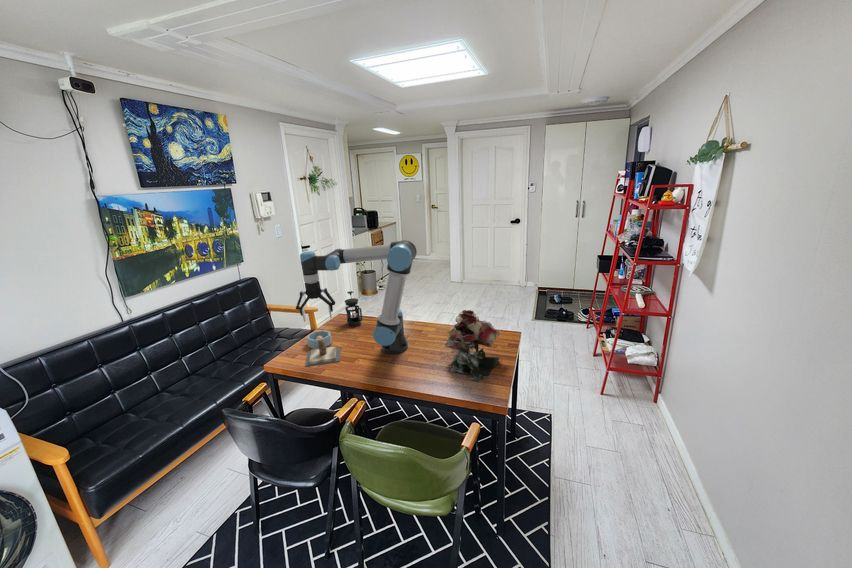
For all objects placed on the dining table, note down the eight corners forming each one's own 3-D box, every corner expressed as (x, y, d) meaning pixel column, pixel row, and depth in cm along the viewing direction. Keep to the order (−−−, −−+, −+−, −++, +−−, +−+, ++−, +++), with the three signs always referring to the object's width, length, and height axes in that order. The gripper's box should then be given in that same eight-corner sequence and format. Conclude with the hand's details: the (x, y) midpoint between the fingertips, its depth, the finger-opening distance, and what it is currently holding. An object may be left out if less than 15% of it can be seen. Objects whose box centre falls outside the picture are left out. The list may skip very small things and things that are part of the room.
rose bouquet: (503, 356, 189) (503, 303, 180) (483, 384, 165) (483, 325, 156) (459, 346, 201) (457, 297, 192) (434, 372, 177) (432, 316, 168)
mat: (340, 348, 207) (340, 347, 207) (339, 361, 192) (339, 360, 192) (308, 352, 204) (308, 351, 204) (305, 366, 189) (305, 365, 189)
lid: (336, 348, 206) (334, 333, 203) (336, 360, 193) (333, 344, 190) (311, 352, 203) (309, 337, 200) (309, 364, 190) (306, 348, 187)
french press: (343, 325, 238) (339, 293, 231) (351, 320, 246) (347, 289, 239) (358, 327, 233) (354, 294, 226) (366, 322, 242) (362, 290, 235)
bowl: (331, 338, 221) (330, 329, 219) (330, 347, 209) (329, 338, 207) (310, 341, 218) (308, 332, 216) (308, 350, 206) (306, 341, 204)
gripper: (336, 276, 190) (341, 313, 197) (287, 282, 186) (294, 319, 192) (336, 280, 183) (341, 318, 190) (285, 286, 179) (292, 324, 185)
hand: (318, 319), depth 191 cm, fingers open, 13 cm apart
